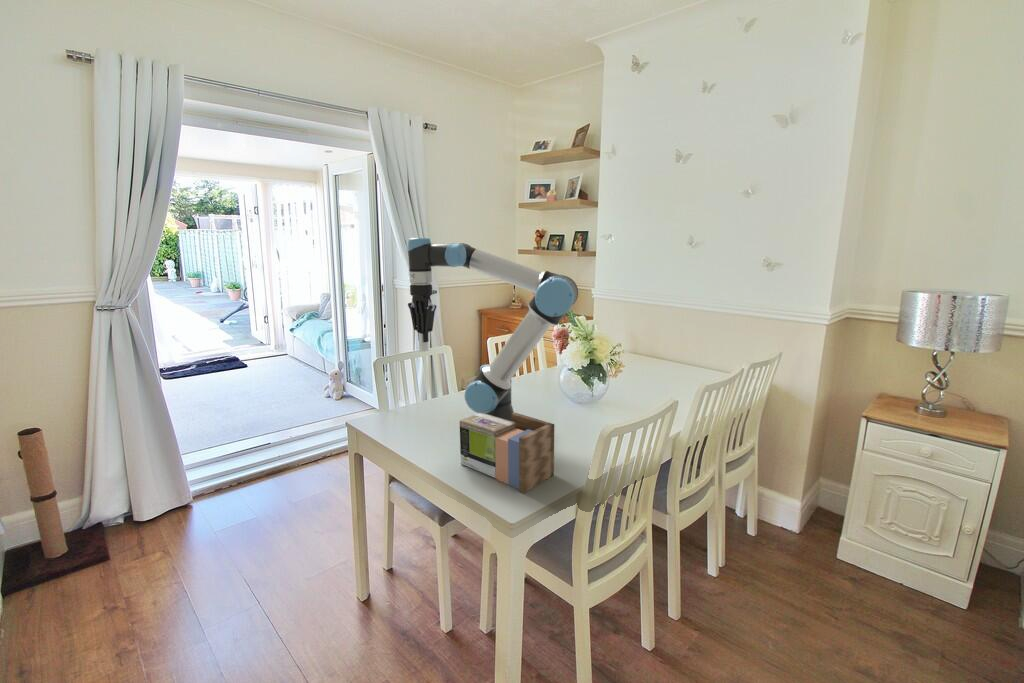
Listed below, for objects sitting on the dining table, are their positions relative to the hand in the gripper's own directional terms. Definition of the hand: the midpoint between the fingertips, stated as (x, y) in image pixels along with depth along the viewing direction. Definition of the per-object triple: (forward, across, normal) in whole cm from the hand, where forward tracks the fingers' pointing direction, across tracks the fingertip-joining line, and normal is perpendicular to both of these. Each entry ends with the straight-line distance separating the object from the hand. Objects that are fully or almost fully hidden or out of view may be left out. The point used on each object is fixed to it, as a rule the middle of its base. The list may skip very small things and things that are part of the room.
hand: (423, 350), depth 168 cm
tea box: (+31, +36, -5) cm, 47 cm away
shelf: (+30, +47, -4) cm, 56 cm away
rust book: (+31, +46, -5) cm, 55 cm away
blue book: (+30, +50, -6) cm, 59 cm away
